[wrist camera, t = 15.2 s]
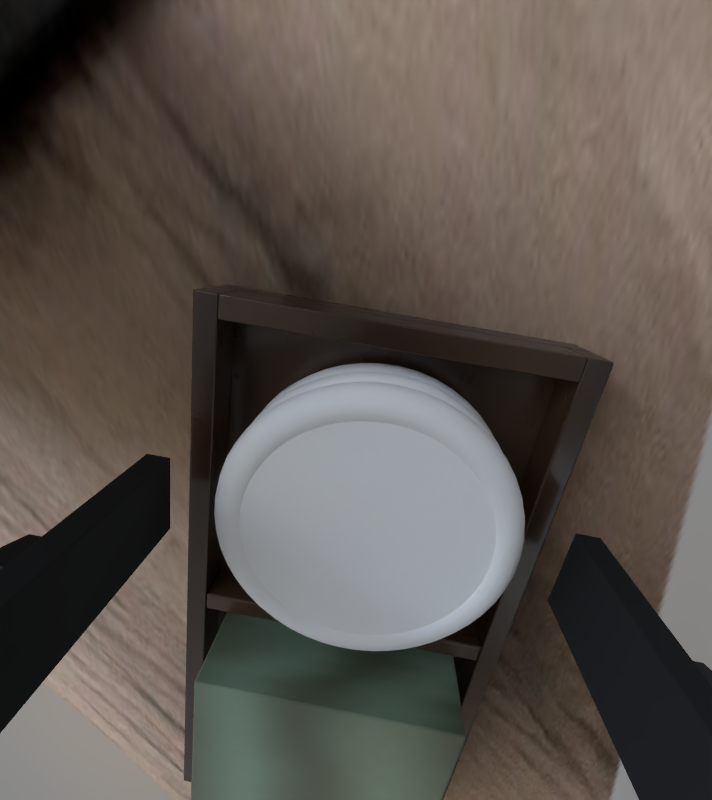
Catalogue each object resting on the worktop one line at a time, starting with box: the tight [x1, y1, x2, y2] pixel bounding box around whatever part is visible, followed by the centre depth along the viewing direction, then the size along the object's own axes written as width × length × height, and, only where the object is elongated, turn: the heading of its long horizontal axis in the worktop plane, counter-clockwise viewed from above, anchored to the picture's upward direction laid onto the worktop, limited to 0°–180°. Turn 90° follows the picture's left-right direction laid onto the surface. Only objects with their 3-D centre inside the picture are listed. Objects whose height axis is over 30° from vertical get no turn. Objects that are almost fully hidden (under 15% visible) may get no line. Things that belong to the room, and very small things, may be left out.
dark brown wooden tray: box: [184, 285, 614, 800], centre depth 16 cm, size 13×25×5 cm, turn 171°
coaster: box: [214, 363, 525, 651], centre depth 14 cm, size 10×10×4 cm
